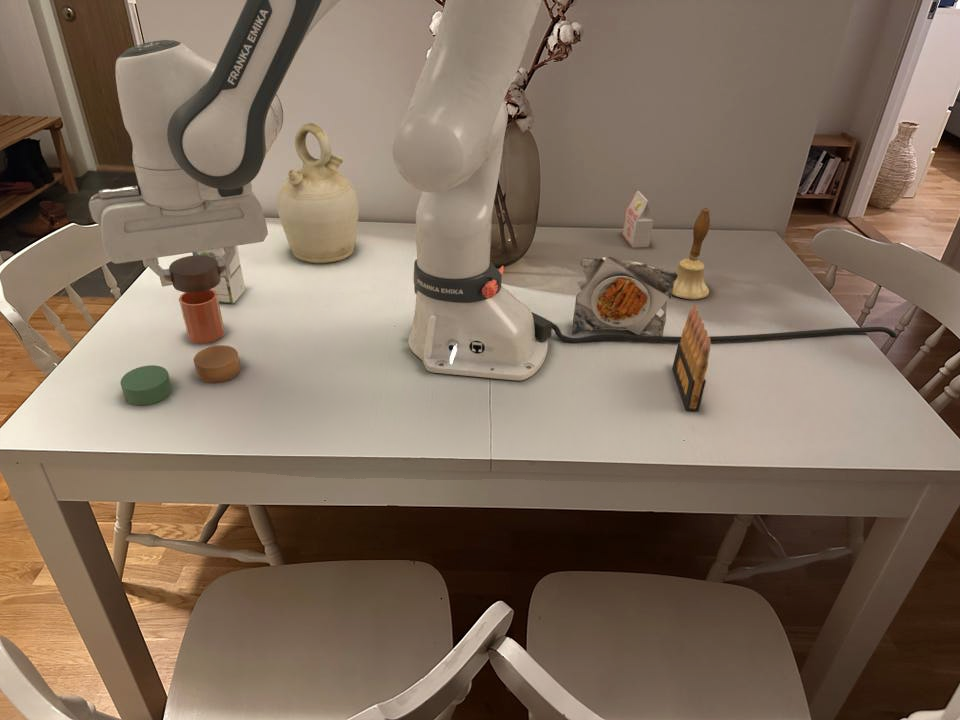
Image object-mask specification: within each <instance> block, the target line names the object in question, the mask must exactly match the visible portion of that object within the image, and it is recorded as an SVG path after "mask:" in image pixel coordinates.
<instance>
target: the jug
mask: <svg viewBox="0 0 960 720" xmlns="http://www.w3.org/2000/svg"><path fill="white" fill-rule="evenodd" d="M309 133H310V134H312V135H313V136H314V137H315V138H316V141H318V144H319V148H320V156H319V158H315V157H314V156H312V155H311V154H310V152H309V150H308V147H307V135H308V134H309ZM294 147H295V151H296V154H297V156H298V157H299V159H300V160H301V161H302V167H301V168H300V169H298V170H297V171H296V170H294V169H289V171H288V173H287V174H288V178H286V179H285V180H284V182H283V183H282V185H281V186H280V189H279V192H278V196H277V213H278V216H279V219H280V223H281V227H282V229H283V232H284V234H285V237H286V240H287V242H288V245H289V248H290V249H291V251H292V255H293V256H294V257H295V258H296V259H297V260H300V261H302V262H305V263H309V264H331V263H337V262H340V261H343V260H345V259H347V258H348V257H350V256H351V255H352V254H353V253H354V251H355V244H356V240H357V231H358V225H359V224H358V223H359V215H360V213H359V211H360V206H359V205H360V204H359V199H358V195H357V192H356V189H355V188H354V186H353V184H352V183H351V181H350V180H349V179H348V178H347V177H346V176H344V175H343V174H341V173H340V172H339V171H338V169H339V168H340V166H341V165H342V164H343V163H344V159H343V158H342V157H340V156H339V155H336V154H334V153H332V146H331V141H330V138H329V136H328V135H327V133H326V131H325V130H324V129H323V128H322V127H320V126H319V125H317V124H315V123H312V122H311V123H305V124H303V125H301V126H300V127H299V128H298V129H297V131H296V133H295V135H294Z"/></svg>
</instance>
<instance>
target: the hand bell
mask: <svg viewBox="0 0 960 720" xmlns="http://www.w3.org/2000/svg"><path fill="white" fill-rule="evenodd" d="M710 226H711V214H710V208H708V207H703V208H702V209H701V211H700V213H699V214H698V216H697V217H696V219H695V222H694V225H693V229H692V230H693V231H692V234H693V235H692V237H693V239H692V241H693V242H692V246H691V249H690V253H689V255H688V258H683V259H681V260H680V261H679V264H678V267H677V269H676V271H675V272H676V273H677V274H678V277H677V279H676V280H675V281H674V288H673V293H672V296H674V297H678V298H680V299H684V300H692V301H693V300H701V299H705V298H707V297H708V296H709V294H710V289H709V286H708V285H707V284H706V282H705V277H704V276H705V264H704V262H702V261H700V260H699V258H700V255H701V250H702V245H703V242H704V240H705V238H706V236H707V235H708V232H709V230H710Z"/></svg>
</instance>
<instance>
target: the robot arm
mask: <svg viewBox="0 0 960 720" xmlns="http://www.w3.org/2000/svg"><path fill="white" fill-rule="evenodd" d="M340 1H341V0H245V2H244V5H243V7H242V9H241V12H240V14H239V16H238V19H237V20H236V23H235V24H234V26H233V29H232V31H231V33H230V36H229V37H228V40H227V42H226V44H225V46H224V48H223V51H222V53H221V55H220V58H219V59H218V62H217V63H215V62H212V61H210V60H209V59H206V58H204V57H202V56H201V55H199V54H197V53H196V52H194V51H193V50H191V48H189V47H188V46H187V45H185V44H184V43H182V42H180V41H177V40H171V39H162V40H161V39H160V40H153V41H148V42H144V43H143V42H142V43H141V44H138V45H133V46H132V47H129V48H127V49H125V50H124V51H123V52H122V53H120V55H119V56H118V57H117V59H116V61H115V67H114V68H115V70H114V71H115V82H116V83H115V84H116V90H117V96H118V103H119V106H120V107H119V108H120V113H121V117H122V122H123V125H124V128H125V130H126V131H127V133H128V135H129V137H130V140H131V143H132V155H131V157H132V164H133V168H134V172H135V176H136V180H137V185H131V186H129V185H128V186H123V187H118V188H103V189H99V190H98V193H95V194H94V195H93V196H91V197H90V199H89V201H88V209H89V212H90V217H91V219H92V220H93V222H94V223H95V224H97V225H98V226H100V234H101V240H102V246H103V251H104V255H105V258H106V259H107V260H109V261H110V262H111V263H113V264H114V265H117V264H118V265H119V264H125V263H131V262H138V261H139V262H140V261H145V260H146V265H147V267H148V268H149V269H150V270H151V271H152V272H153V273H155V274H156V275H157V276H158V277H159V280H160V284H161V285H160V286H161V287H162V288H163V287H169V286H173V281H172V276H171V273H170V270H169V268H162V266H160V263H159V258H165V257H170V256H178V255H185V254H192V252H198V251H205V250H212V249H218V248H223V249H224V252H225V254H224V256H223V259H222V260H221V261H217V262H218V268H219V273H220V277H223V276H229V275H231V271H230V266H229V265H230V264H231V262H232V260H233V258H234V256H235V253H236V251H235V246H237V247H238V246H245V245H251V244H257V243H263V242H264V241H265V240H266V238H267V236H268V235H269V233H268V226H267V221H266V216H265V213H264V210H263V207H262V205H261V202H260V201H259V198H258V197H257V196H256V194H255V192H254V191H253V185H252V182H253V180H254V179H255V178H257V176H258V175H259V173H260V171H261V169H262V166H263V163H264V161H265V158H266V156H267V155H268V153H269V152H270V149H271V148H272V147H273V144H274V143H275V142H276V140H277V138H278V136H279V134H280V132H281V130H282V127H283V124H284V111H283V106H282V103H281V99H280V98H279V95H278V92H279V90H280V88H281V86H282V83H283V82H284V79H285V78H286V76H287V73H288V72H289V69H290V67H291V66H292V63H293V61H294V59H295V57H296V55H297V53H298V51H299V49H300V48H301V46H302V44H303V43H304V41H305V40H306V39H307V36H309V34H310V32H311V31H312V30H313V29H314V28H315V26H316V25H317V24H318V23H319V22H320V21H321V20H322V19H323V18H324V17H325V16H326V14H328V12H330V11H331V10H332V9H333V8H334V7H335V6H336V5H337V4H338V3H339V2H340ZM542 1H543V0H445V2H444V5H443V10H442V13H441V16H440V21H439V24H438V28H437V32H436V35H435V37H434V41H433V43H432V46H431V48H430V51H429V53H428V55H427V58H426V60H425V63H424V65H423V68H422V70H421V73H420V75H419V78H418V79H417V82H416V85H415V87H414V89H413V93H412V95H411V99H410V102H409V104H408V107H407V110H406V111H405V115H404V116H403V119H402V121H401V123H400V125H399V127H398V129H397V132H396V133H395V136H394V138H393V142H392V159H393V162H394V166H395V168H396V170H397V172H398V173H399V175H400V176H401V178H402V179H403V180H404V181H405V182H406V183H407V184H408V185H410V186H411V187H413V188H414V189H416V190H418V191H421V194H420V198H419V201H418V204H417V206H416V211H415V238H416V239H415V242H416V244H415V245H416V259H415V260H414V263H413V285H414V286H413V287H414V290H413V291H414V294H415V306H414V307H415V308H414V314H413V321H412V325H411V329H410V333H409V336H408V340H407V344H408V347H409V349H410V351H411V352H412V353H413V354H414V355H415V356H416V357H418V359H420V360H421V361H422V363H423V366H424V368H425V370H426V371H427V372H429V373H432V374H433V373H434V374H442V375H443V374H445V375H455V376H466V377H476V378H486V379H495V380H496V379H497V380H509V381H520V382H521V381H524V380H526V379H529V378H531V377H532V376H534V375H535V374H536V373H537V372H538V371H539V370H540V369H541V367H542V365H543V364H544V361H545V360H546V358H547V354H548V349H549V348H548V345H549V344H548V339H549V338H551V337H552V334H553V331H554V334H555V335H556V337H557V338H558V339H559V340H560V341H562V342H565V343H567V344H584V343H589V342H594V341H595V342H596V341H602V340H603V341H605V340H609V341H610V340H611V341H613V340H614V341H630V342H631V341H634V342H656V343H657V342H661V343H678V342H680V341H681V337H682V336H669V335H668V336H667V335H665V336H664V335H663V336H652V335H637V334H635V335H634V334H618V333H617V334H614V333H601V334H593V335H587V336H582V337H572V336H571V337H570V336H567V335H564V334H563V333H562V332H561V329H560V327H559V326H558V325H557V324H555V323H554V322H552V321H551V320H549V319H547V318H545V317H543V316H541V315H539V314H537V313H535V312H533V311H532V310H531V309H530V307H528V306H527V305H526V304H525V303H523V302H522V301H521V300H520V299H518V298H517V297H516V296H514V295H513V294H512V293H511V292H509V290H507V289H506V288H505V287H504V286H503V285H502V282H503V281H502V278H503V275H504V268H505V266H504V265H501V267H500V268H499V270H498V268H497V267H496V266H495V265H494V264H493V262H492V260H491V245H492V244H491V243H492V222H493V212H494V205H495V199H496V195H497V188H498V183H499V177H500V171H501V164H502V157H503V151H504V141H505V135H506V132H507V125H508V120H509V113H508V107H507V103H506V102H505V101H506V100H505V98H506V96H507V94H508V91H509V89H510V87H511V84H512V82H513V80H514V78H515V76H516V73H517V71H518V69H519V67H520V66H521V64H522V61H523V59H524V55H525V52H526V48H527V46H528V42H529V41H530V37H531V34H532V30H533V28H534V25H535V21H536V19H537V16H538V12H539V10H540V6H541V3H542ZM855 333H856V334H861V333H863V334H865V333H866V334H867V333H884V334H887V335H888V336H889V337H890V338H892V339H898V335H897V333H896V331H894V330H893V329H891V328H888V327H885V326H866V327H865V326H864V327H857V326H856V327H855V326H854V327H836V328H825V329H823V328H822V329H811V330H809V329H808V330H798V331H796V330H795V331H786V332H771V333H769V332H768V333H758V334H757V333H756V334H755V333H754V334H740V335H714V336H713V335H712V336H709V335H708V336H709V337H710V341H711V343H717V342H718V343H719V342H720V343H721V342H742V341H757V340H758V341H759V340H772V339H773V340H774V339H785V338H798V337H811V336H822V335H823V336H825V335H834V334H836V335H837V334H855Z"/></svg>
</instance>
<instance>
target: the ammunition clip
mask: <svg viewBox="0 0 960 720" xmlns="http://www.w3.org/2000/svg"><path fill="white" fill-rule="evenodd" d="M680 337H681V341H680V342H677V347H676V351H675V355H674V359H673V364H672V366H671V367H672V368H671V370H672V373H673V376H674V379H675V382H676V385H677V389H678V391H679V392H678V393H679V395H680V398H681V400H682V403H683V406H684V410H685V411H692V412H699V411H700V407H701V403H702V398H703V395H704V392H705V386H706V379H705V378H706V375H707V370H708V367H709V357H710V352H711V346H712V345H711V344H712V342H711V341H710V337H709V335H708V330H707V329H706V327H705V323H704V322H703V320H702V317H701V316H700V312H699V310H697V305H696V304H693V305H692V306H691V308H690V310H689V312H688V314H687V318H686V322H685V325H684V327H683V329H682V333H681V336H680Z"/></svg>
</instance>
